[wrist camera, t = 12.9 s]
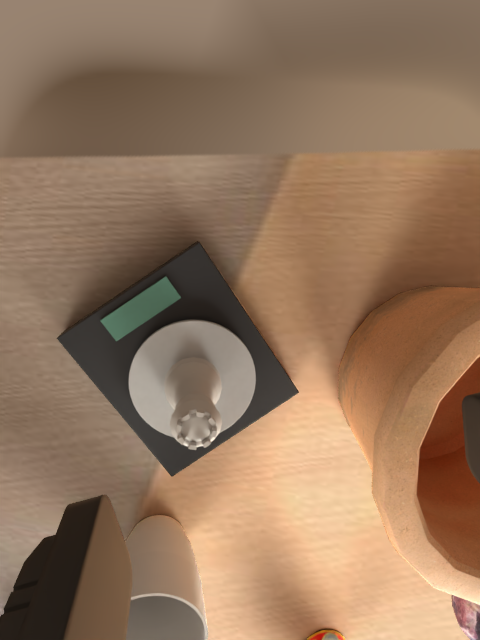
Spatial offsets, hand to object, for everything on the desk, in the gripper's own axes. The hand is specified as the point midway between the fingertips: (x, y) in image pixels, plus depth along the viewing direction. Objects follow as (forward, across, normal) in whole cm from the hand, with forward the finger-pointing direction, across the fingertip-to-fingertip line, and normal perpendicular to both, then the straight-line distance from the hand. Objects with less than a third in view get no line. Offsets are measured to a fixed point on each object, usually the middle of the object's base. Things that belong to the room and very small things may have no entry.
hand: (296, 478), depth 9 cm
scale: (+26, +4, +6) cm, 27 cm away
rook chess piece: (+24, +3, +7) cm, 25 cm away
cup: (+26, +10, +22) cm, 36 cm away
